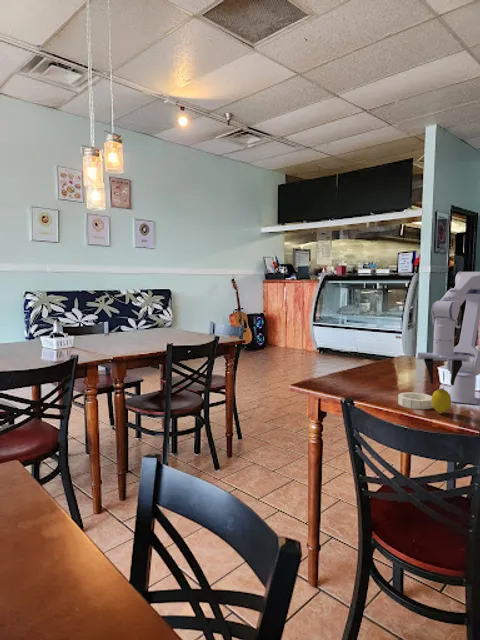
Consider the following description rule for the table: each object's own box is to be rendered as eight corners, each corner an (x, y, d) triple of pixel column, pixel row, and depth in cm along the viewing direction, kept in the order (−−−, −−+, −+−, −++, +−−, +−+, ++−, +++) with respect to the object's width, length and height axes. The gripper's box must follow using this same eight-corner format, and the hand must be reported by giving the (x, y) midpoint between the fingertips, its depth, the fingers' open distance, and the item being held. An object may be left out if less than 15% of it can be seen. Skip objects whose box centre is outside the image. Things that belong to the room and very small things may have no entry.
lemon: (426, 412, 138) (428, 387, 138) (439, 410, 141) (440, 385, 140) (441, 417, 133) (442, 391, 133) (454, 415, 135) (455, 389, 135)
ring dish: (398, 399, 154) (398, 391, 154) (432, 402, 150) (432, 394, 150) (397, 407, 144) (398, 398, 143) (434, 410, 140) (435, 402, 140)
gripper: (418, 340, 134) (416, 384, 135) (472, 342, 129) (469, 388, 130) (417, 337, 140) (416, 379, 141) (468, 339, 135) (466, 383, 136)
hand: (441, 383), depth 136 cm, fingers open, 5 cm apart
